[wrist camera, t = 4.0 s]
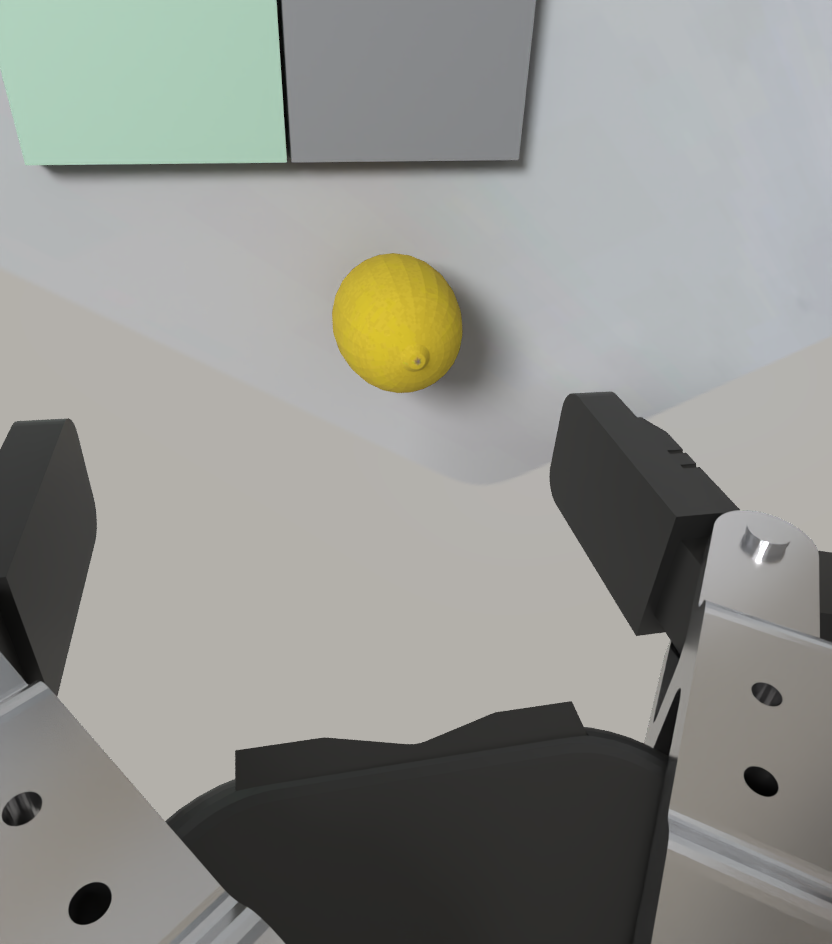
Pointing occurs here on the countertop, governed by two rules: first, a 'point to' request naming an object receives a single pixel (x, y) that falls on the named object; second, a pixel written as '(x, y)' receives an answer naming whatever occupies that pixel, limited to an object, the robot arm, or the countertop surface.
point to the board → (265, 80)
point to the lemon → (397, 323)
